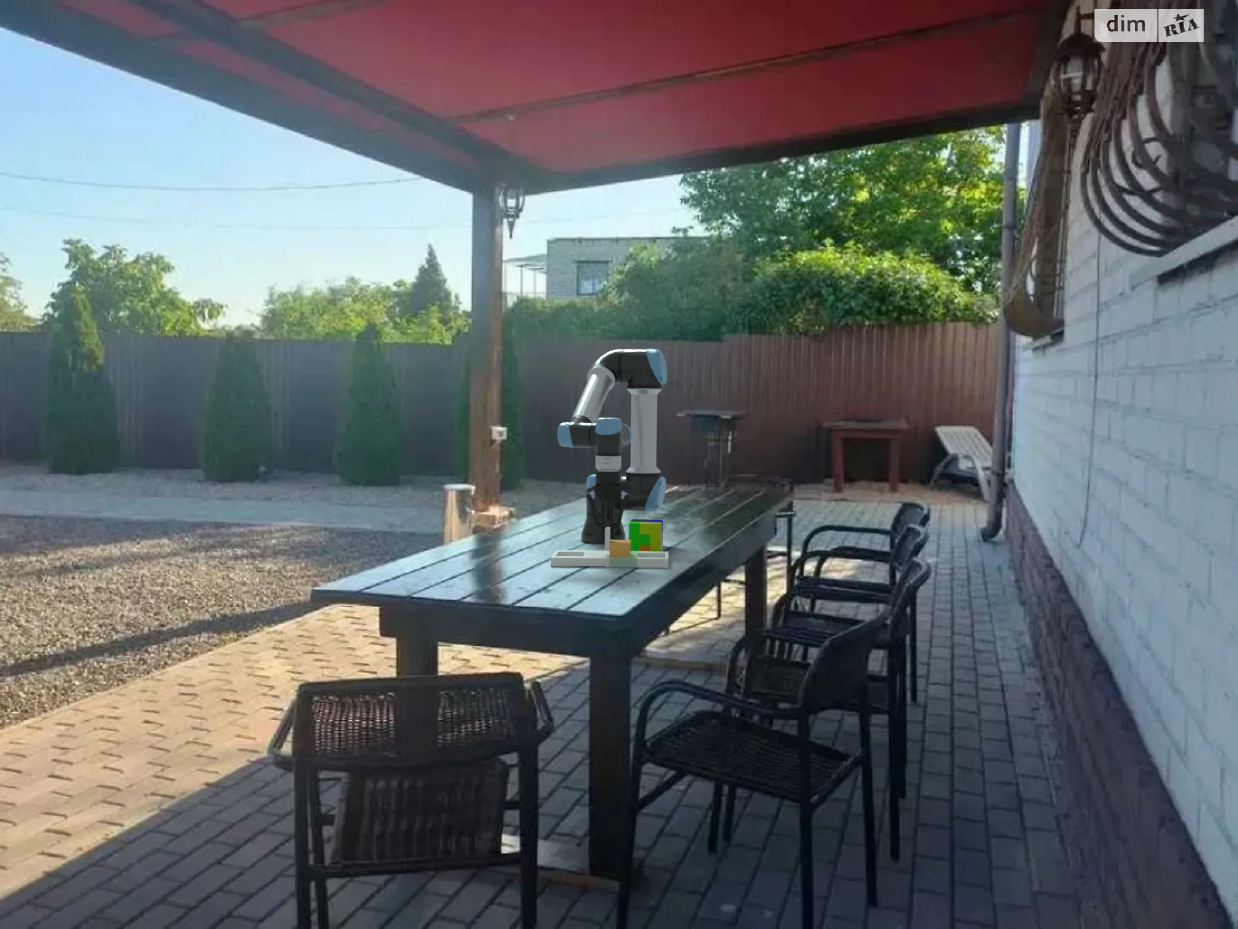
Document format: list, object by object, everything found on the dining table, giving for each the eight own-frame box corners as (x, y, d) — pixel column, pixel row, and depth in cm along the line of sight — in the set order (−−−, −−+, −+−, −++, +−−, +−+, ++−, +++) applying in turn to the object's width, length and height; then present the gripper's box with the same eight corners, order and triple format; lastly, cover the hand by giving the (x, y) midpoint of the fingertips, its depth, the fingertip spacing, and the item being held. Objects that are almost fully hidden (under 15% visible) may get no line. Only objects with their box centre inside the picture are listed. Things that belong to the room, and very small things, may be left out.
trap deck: (556, 558, 306) (556, 550, 306) (668, 559, 304) (668, 551, 304) (550, 566, 292) (550, 557, 292) (668, 567, 291) (668, 559, 290)
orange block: (610, 553, 301) (610, 539, 301) (630, 553, 301) (630, 540, 300) (609, 556, 295) (609, 542, 295) (629, 556, 295) (629, 543, 294)
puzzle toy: (662, 550, 322) (662, 519, 322) (660, 555, 312) (661, 523, 312) (631, 550, 323) (631, 519, 322) (628, 555, 313) (628, 523, 313)
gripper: (585, 470, 293) (584, 551, 295) (629, 471, 292) (629, 552, 294) (587, 468, 300) (586, 547, 302) (630, 469, 300) (630, 548, 301)
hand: (607, 549), depth 298 cm, fingers closed
